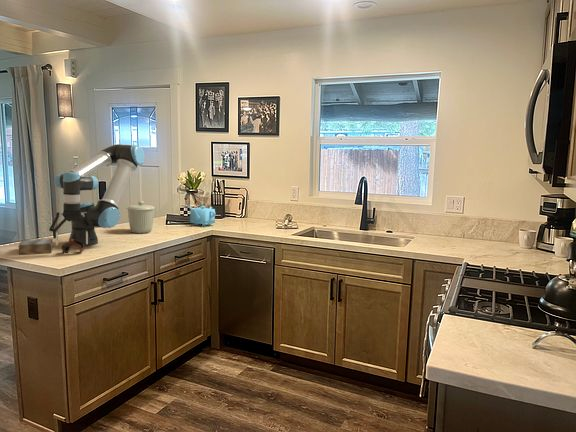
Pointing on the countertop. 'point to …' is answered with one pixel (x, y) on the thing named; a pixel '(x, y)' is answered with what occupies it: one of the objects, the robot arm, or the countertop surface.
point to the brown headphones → (74, 243)
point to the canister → (141, 217)
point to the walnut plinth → (35, 246)
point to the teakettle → (202, 215)
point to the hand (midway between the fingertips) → (72, 244)
